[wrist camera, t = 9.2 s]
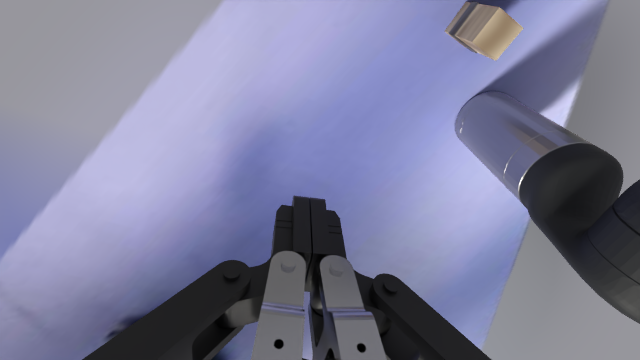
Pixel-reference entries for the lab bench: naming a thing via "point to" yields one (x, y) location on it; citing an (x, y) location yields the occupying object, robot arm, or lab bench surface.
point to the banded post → (483, 29)
